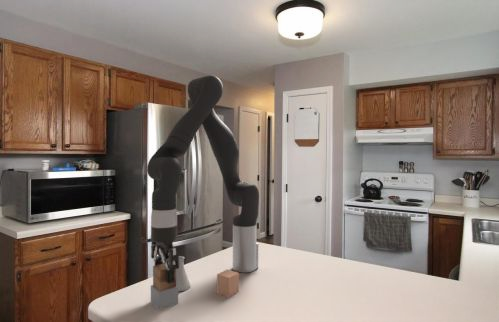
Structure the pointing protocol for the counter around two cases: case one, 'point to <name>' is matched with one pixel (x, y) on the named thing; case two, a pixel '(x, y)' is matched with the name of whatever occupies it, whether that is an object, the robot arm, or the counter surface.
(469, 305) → the counter surface
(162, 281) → the walnut cube
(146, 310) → the counter surface
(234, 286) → the terracotta cube
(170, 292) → the grey base block
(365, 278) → the counter surface
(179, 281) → the flask
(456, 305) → the counter surface
